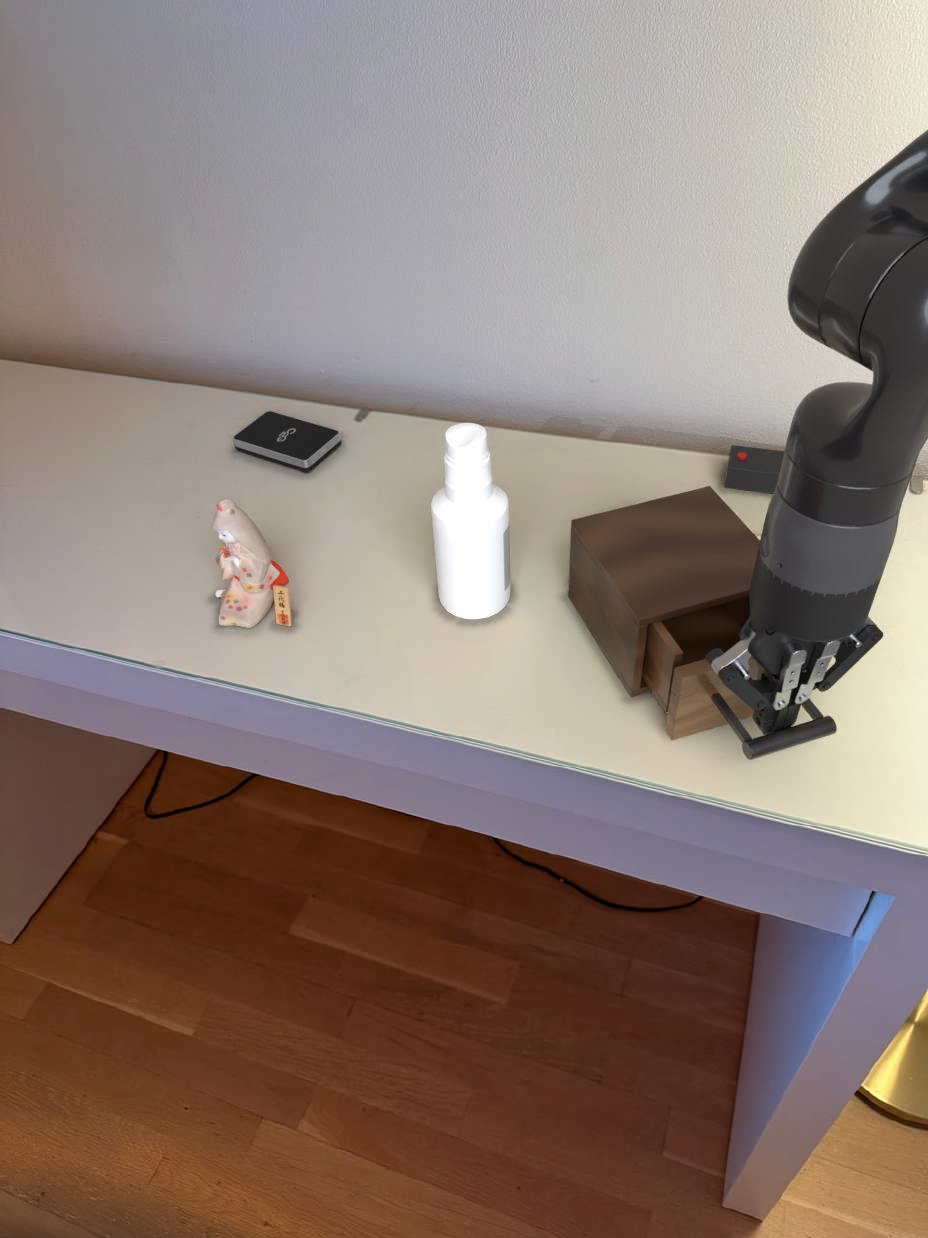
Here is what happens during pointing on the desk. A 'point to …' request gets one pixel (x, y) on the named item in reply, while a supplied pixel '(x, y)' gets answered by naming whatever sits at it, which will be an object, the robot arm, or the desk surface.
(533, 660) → the desk surface
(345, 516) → the desk surface
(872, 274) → the robot arm
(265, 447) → the external hard drive
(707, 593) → the cabinet
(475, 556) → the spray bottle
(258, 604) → the figurine
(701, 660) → the drawer
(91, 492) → the desk surface
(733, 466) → the remote
